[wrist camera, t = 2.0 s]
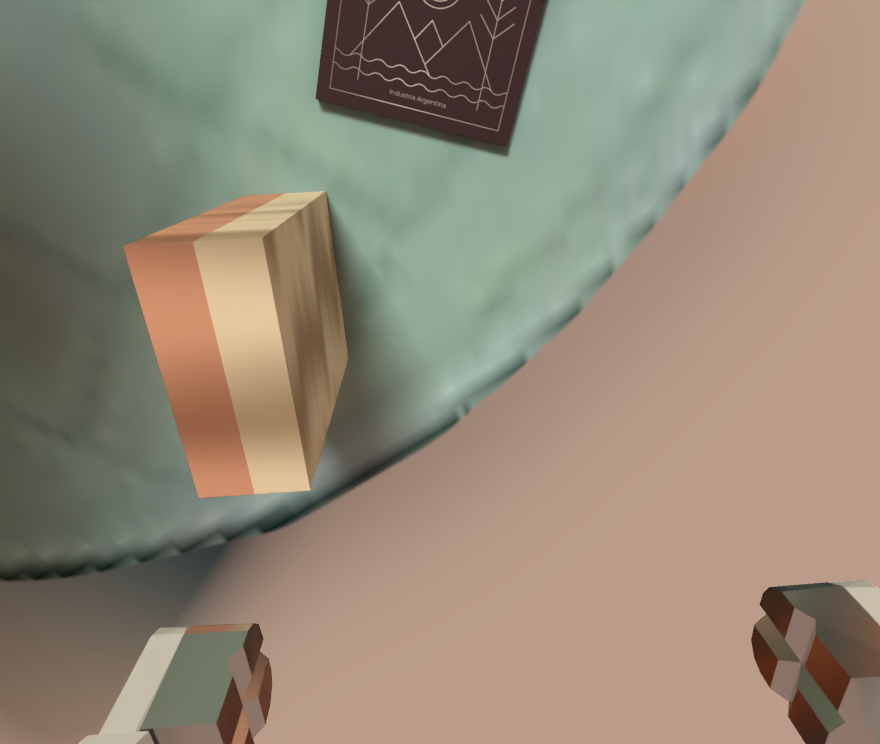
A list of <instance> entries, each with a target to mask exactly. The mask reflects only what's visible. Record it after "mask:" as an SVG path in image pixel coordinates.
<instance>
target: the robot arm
mask: <svg viewBox="0 0 880 744" xmlns="http://www.w3.org/2000/svg"><path fill="white" fill-rule="evenodd" d="M760 605H761V607H762V608H763V610H764V611H765V613H766V615H765V616H764V617H762V618H761V619H760V620H759V621H758V622H757V623H756V624H755V625H754V629H753V634H752V639H751V641H752V647H753V653H754V658H755V661H756V663H757V665H758V668H759V670H760V672H761V674H762V676H763V678H764V679H765V681H766V682H767V684H768V686H769V687H770V688H771V689H772V690H773V691H775V692H776V693H778V694H779V695H781V696H782V697H783V698H785V699H786V700H787V701H789V711H788V717H789V719H790V720H791V722H792V723H793V725H794V727H795V728H796V729H797V731H798V733H799V734H800V736H801V737H802V739H803V741H804V742H805V744H880V589H879V588H878V587H877V586H875V585H874V584H872V583H870V582H868V581H866V580H859V581H845V582H833V583H828V582H826V583H813V584H801V585H789V586H777V587H769V588H768V589H767V590H766V591H765V592H764V593H763V595H762V599H761V602H760ZM262 641H263V636H262V633H261V630H260V627H259V624H254V623H252V624H227V625H203V626H187V627H166V628H159V629H158V630H157V631H156V632H155V633H154V634H153V635H152V636H151V637H150V638H149V640H148V642H147V644H146V646H145V648H144V650H143V652H142V654H141V655H140V657H139V659H138V661H137V663H136V665H135V667H134V668H133V670H132V672H131V674H130V676H129V678H128V680H127V682H126V683H125V686H124V687H123V689H122V691H121V693H120V695H119V697H118V699H117V700H116V702H115V704H114V706H113V708H112V710H111V712H110V713H109V715H108V717H107V719H106V721H105V723H104V725H103V727H102V728H101V730H100V732H99V734H93V735H87V736H86V737H85V738H84V739H83V740H82V741H80V743H78V744H254V741H253V738H254V736H255V735H256V734H257V733H258V732H259V731H260V730H261V729H262V728H263V726H264V725H265V724H266V720H267V715H268V711H269V707H270V700H271V690H272V675H271V667H270V663H269V659H268V658H267V657H266V656H265V655H263V654H262V653H261V652H260V648H261V645H262Z"/></svg>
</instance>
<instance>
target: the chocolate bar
mask: <svg viewBox="0 0 880 744" xmlns="http://www.w3.org/2000/svg"><path fill="white" fill-rule="evenodd" d="M543 2H544V0H327V8H326V16H325V25H324V33H323V41H322V50H321V58H320V67H319V75H318V84H317V92H316V99H319V100H323V101H327V102H331V103H335V104H339V105H343V106H347V107H351V108H355V109H359V110H363V111H367V112H371V113H375V114H379V115H383V116H387V117H391V118H395V119H399V120H403V121H407V122H411V123H415V124H419V125H423V126H427V127H430V128H434V129H438V130H442V131H446V132H450V133H454V134H458V135H462V136H466V137H470V138H474V139H478V140H482V141H486V142H490V143H494V144H498V145H502V146H506V145H507V142H508V138H509V134H510V130H511V126H512V122H513V118H514V114H515V111H516V107H517V103H518V99H519V95H520V91H521V87H522V84H523V80H524V76H525V72H526V68H527V64H528V60H529V56H530V53H531V49H532V45H533V41H534V37H535V33H536V29H537V25H538V22H539V18H540V14H541V10H542V6H543Z"/></svg>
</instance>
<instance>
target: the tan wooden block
mask: <svg viewBox="0 0 880 744" xmlns="http://www.w3.org/2000/svg"><path fill="white" fill-rule="evenodd" d="M123 248H124V251H125V255H126V258H127V261H128V265H129V268H130V271H131V275H132V278H133V281H134V285H135V288H136V291H137V295H138V298H139V301H140V305H141V308H142V311H143V315H144V318H145V321H146V324H147V328H148V331H149V334H150V338H151V341H152V344H153V348H154V351H155V354H156V358H157V361H158V364H159V368H160V371H161V374H162V378H163V381H164V384H165V388H166V391H167V394H168V398H169V401H170V404H171V407H172V411H173V414H174V417H175V421H176V424H177V427H178V431H179V434H180V437H181V441H182V444H183V447H184V451H185V454H186V457H187V461H188V464H189V467H190V471H191V474H192V477H193V481H194V484H195V487H196V490H197V494H198V497H199V498H205V497H220V496H235V495H249V494H264V493H279V492H293V491H308V490H311V486H312V483H313V479H314V476H315V472H316V469H317V465H318V462H319V459H320V455H321V452H322V448H323V445H324V441H325V438H326V434H327V431H328V427H329V424H330V421H331V417H332V414H333V410H334V407H335V403H336V400H337V396H338V393H339V389H340V386H341V382H342V379H343V376H344V372H345V369H346V365H347V362H348V351H347V344H346V337H345V329H344V322H343V314H342V307H341V300H340V292H339V285H338V278H337V270H336V263H335V256H334V248H333V241H332V234H331V226H330V219H329V212H328V204H327V197H326V191H319V192H302V193H285V194H268V195H252V196H243V197H241V198H238V199H236V200H233V201H231V202H228V203H226V204H224V205H221V206H219V207H216V208H214V209H211V210H209V211H207V212H204V213H202V214H199V215H197V216H195V217H192V218H190V219H187V220H185V221H182V222H180V223H178V224H175V225H173V226H170V227H168V228H165V229H163V230H161V231H158V232H156V233H153V234H151V235H149V236H146V237H144V238H141V239H139V240H136V241H134V242H132V243H129V244H127V245H124V246H123Z"/></svg>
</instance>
